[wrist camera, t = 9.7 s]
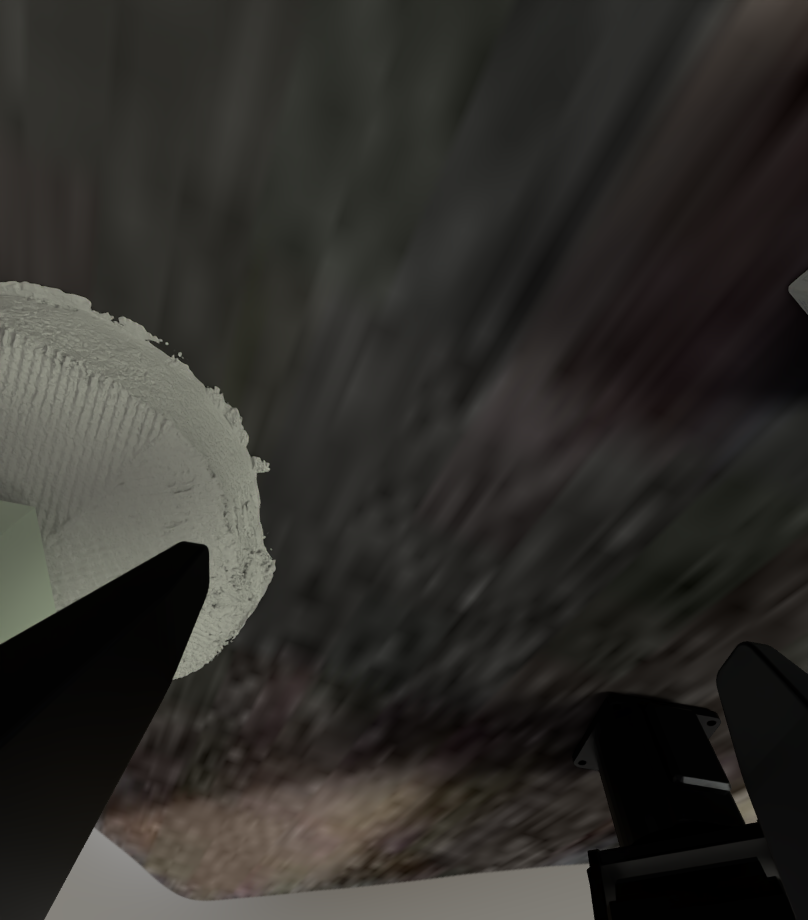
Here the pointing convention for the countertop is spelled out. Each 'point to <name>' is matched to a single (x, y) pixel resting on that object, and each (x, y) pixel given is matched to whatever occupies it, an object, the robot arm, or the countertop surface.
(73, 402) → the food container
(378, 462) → the countertop surface
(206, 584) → the robot arm
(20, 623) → the crate
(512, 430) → the countertop surface
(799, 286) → the light bulb box
